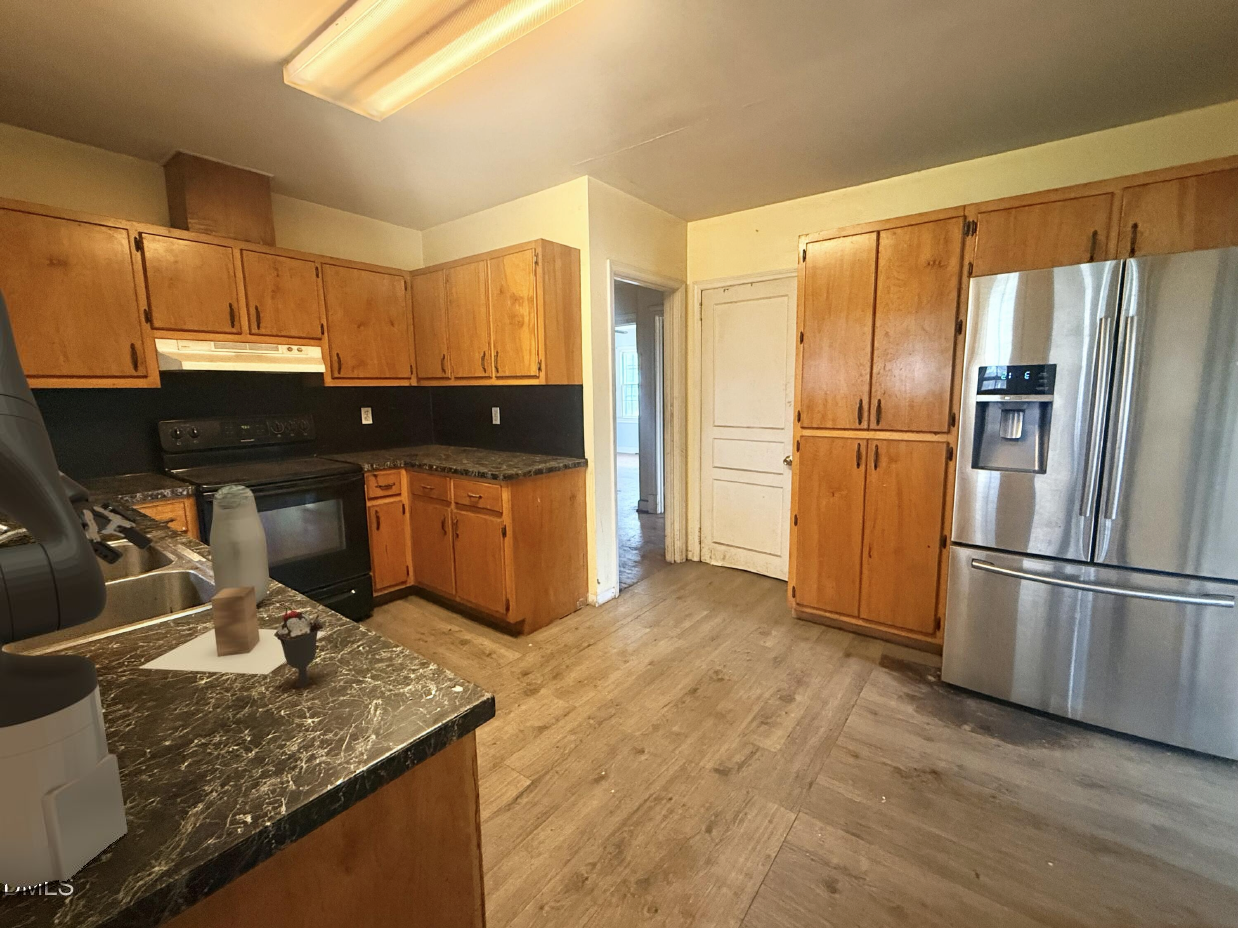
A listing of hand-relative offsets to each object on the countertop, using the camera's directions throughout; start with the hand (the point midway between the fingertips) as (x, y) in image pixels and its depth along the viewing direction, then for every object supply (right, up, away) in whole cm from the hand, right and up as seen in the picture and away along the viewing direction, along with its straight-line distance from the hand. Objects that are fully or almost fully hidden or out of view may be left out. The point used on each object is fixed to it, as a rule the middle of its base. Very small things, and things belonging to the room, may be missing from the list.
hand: (134, 552), depth 91 cm
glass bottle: (-1, -17, +29) cm, 34 cm away
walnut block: (+13, -19, +8) cm, 24 cm away
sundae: (+32, -22, -4) cm, 39 cm away
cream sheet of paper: (+13, -20, +8) cm, 25 cm away
